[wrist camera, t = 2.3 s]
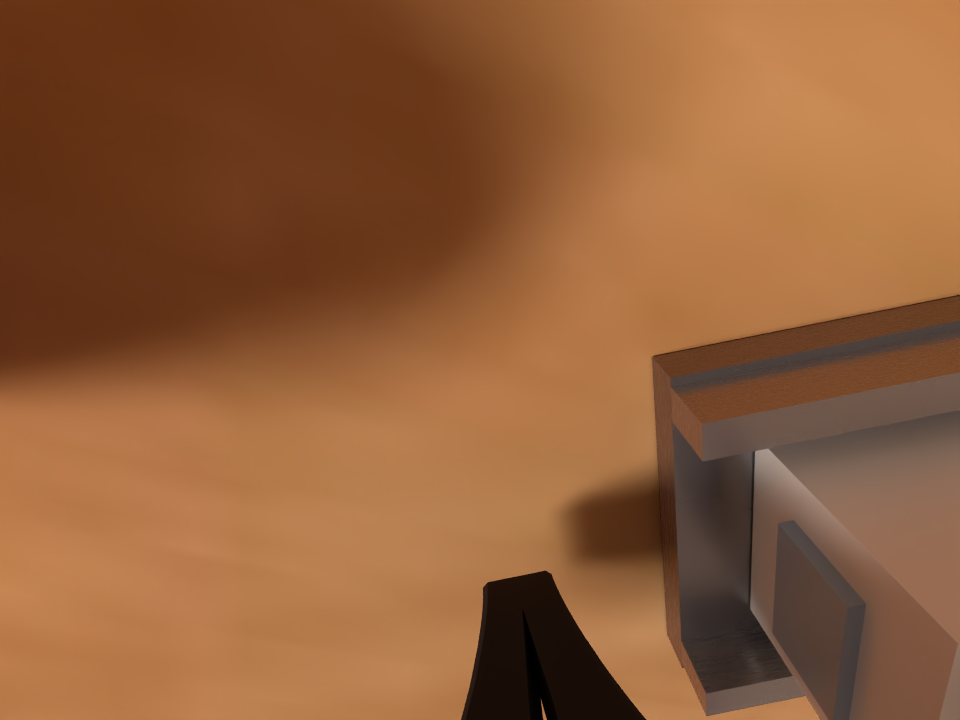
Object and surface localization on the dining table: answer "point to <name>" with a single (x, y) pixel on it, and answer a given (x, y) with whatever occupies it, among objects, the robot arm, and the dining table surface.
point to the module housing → (761, 425)
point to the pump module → (864, 568)
